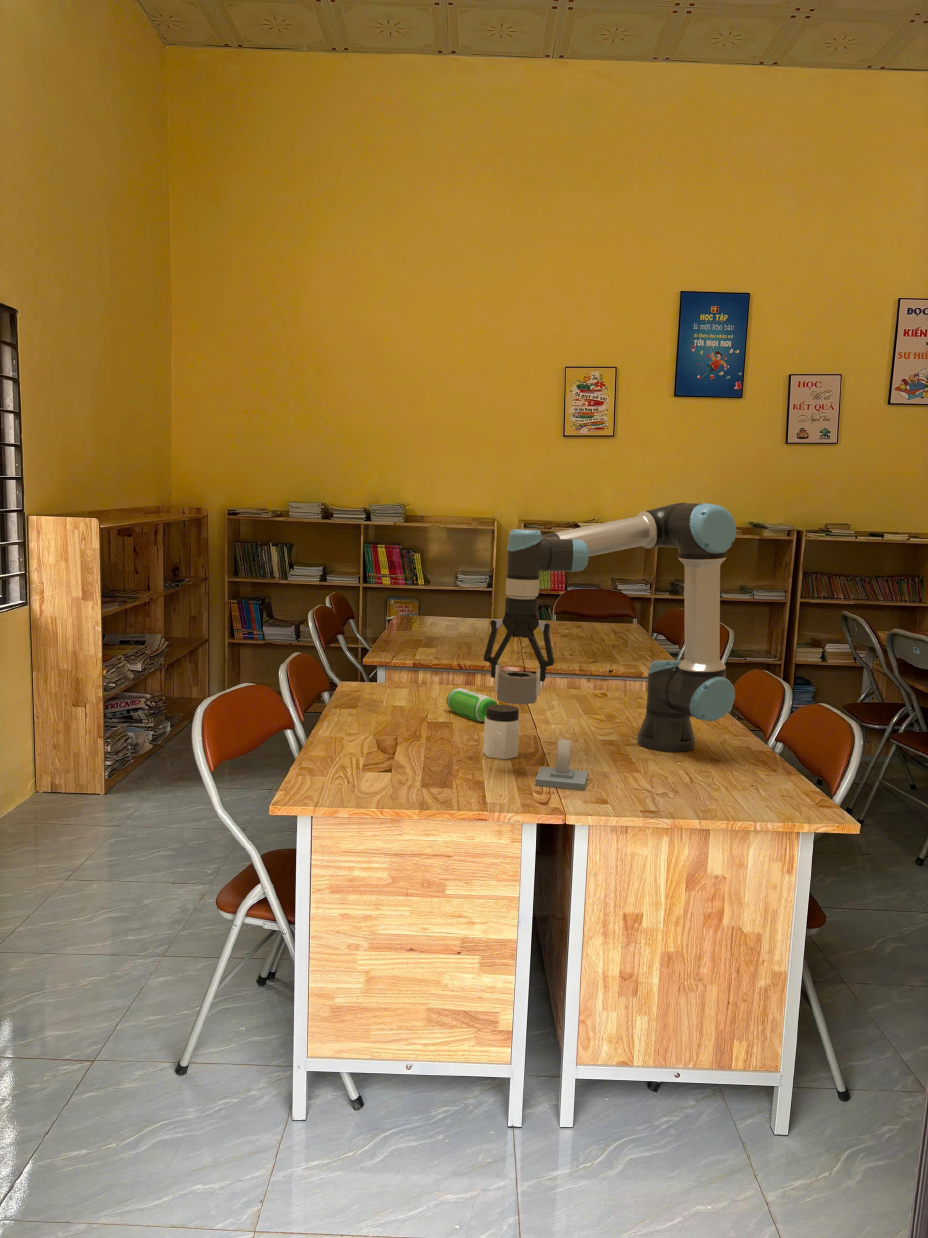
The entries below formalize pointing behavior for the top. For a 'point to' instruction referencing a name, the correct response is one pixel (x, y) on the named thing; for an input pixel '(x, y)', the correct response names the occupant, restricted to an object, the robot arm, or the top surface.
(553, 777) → the shaft stand
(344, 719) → the top surface
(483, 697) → the speaker
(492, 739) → the jar
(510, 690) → the tube
